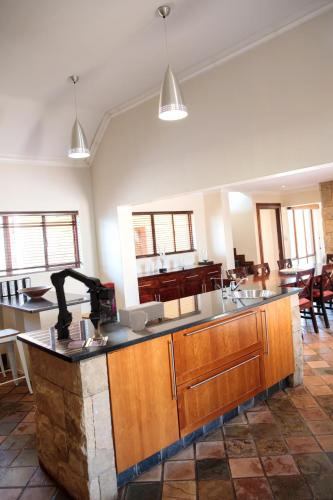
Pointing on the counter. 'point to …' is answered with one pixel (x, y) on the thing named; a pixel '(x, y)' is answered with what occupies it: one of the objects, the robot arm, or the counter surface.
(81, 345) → the ink pad
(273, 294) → the counter surface
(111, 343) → the counter surface
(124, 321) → the light grey long box
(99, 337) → the stamp
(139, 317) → the mug
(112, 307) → the graphics card box
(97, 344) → the sheet
